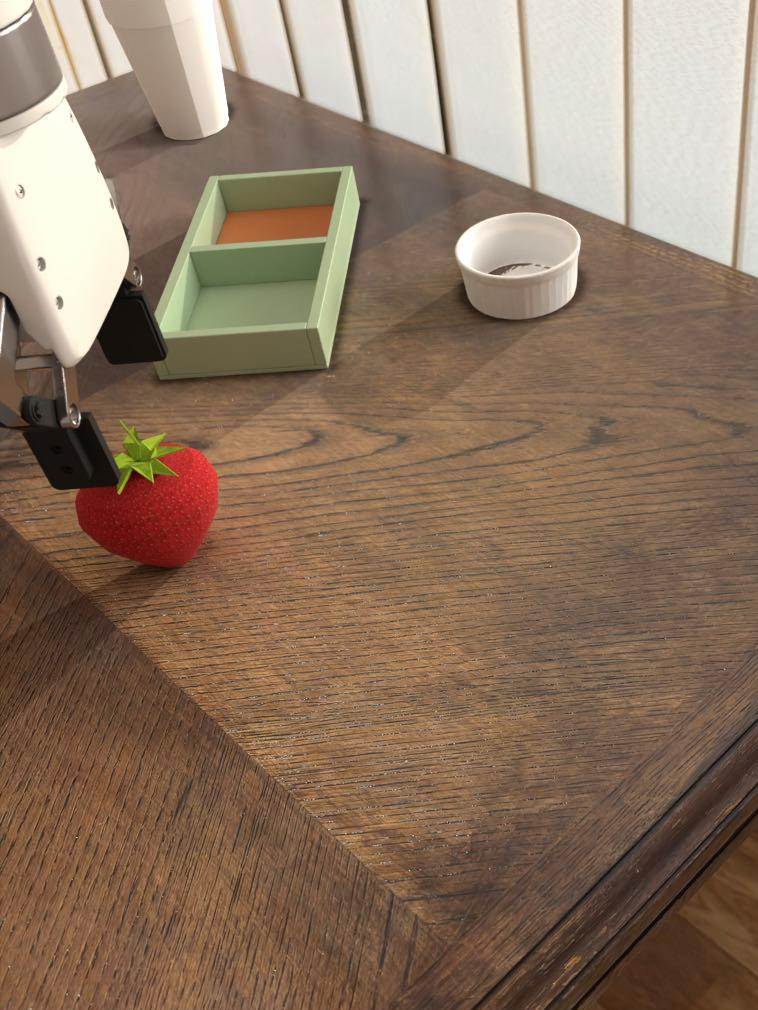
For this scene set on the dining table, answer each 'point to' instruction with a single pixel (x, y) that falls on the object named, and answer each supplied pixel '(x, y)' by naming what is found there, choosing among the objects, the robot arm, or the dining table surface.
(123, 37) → the foam cup
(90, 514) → the strawberry
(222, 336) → the tray
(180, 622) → the dining table surface
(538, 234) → the ramekin
